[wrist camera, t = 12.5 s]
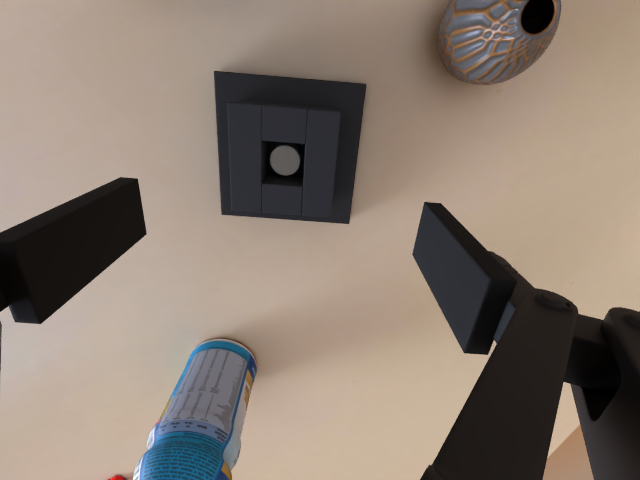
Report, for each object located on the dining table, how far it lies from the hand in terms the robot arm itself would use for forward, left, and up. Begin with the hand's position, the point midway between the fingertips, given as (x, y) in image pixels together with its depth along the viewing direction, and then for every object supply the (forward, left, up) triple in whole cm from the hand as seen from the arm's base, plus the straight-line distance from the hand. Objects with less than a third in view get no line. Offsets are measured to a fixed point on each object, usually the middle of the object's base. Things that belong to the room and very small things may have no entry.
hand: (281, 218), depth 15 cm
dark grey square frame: (0, -1, -14) cm, 14 cm away
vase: (-10, +13, -16) cm, 23 cm away
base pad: (0, -1, -16) cm, 16 cm away
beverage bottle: (+26, -8, -16) cm, 32 cm away
